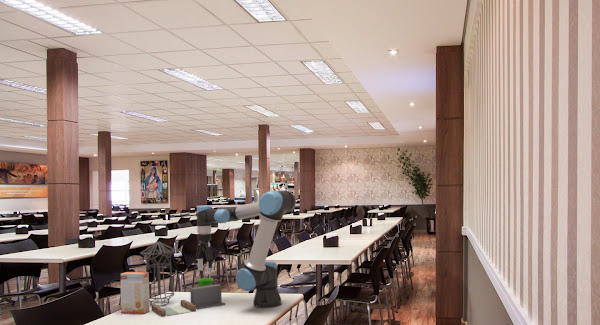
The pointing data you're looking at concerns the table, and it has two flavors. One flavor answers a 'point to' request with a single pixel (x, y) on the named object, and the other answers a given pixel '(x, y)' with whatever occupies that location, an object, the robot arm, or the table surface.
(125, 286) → the cracker box
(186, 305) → the bay walls
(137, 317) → the table surface
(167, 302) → the geometric lantern
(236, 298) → the table surface
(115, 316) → the table surface
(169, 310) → the pad
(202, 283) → the cup
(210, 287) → the angle bracket
